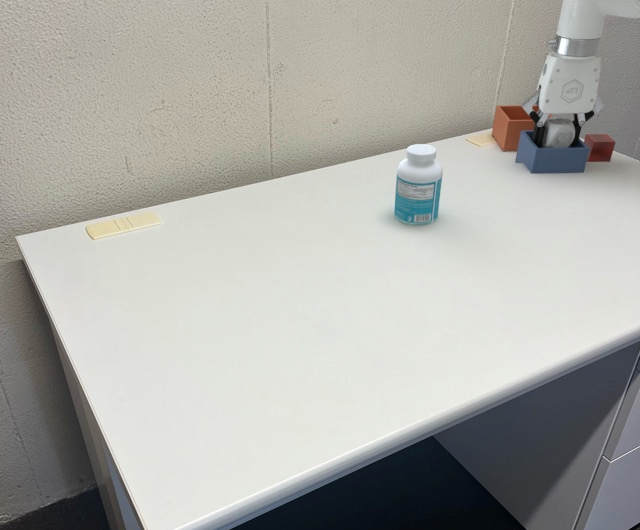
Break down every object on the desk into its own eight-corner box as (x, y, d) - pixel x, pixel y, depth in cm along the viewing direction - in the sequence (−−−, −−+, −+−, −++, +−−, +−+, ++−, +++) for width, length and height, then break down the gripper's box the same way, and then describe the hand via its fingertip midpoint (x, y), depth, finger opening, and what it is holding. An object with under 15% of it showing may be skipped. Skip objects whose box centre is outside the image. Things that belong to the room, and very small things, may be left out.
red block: (601, 154, 130) (607, 133, 127) (609, 162, 126) (615, 141, 123) (580, 154, 130) (585, 134, 127) (588, 163, 126) (593, 142, 123)
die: (535, 143, 121) (540, 118, 118) (557, 140, 122) (563, 115, 119) (548, 152, 117) (554, 126, 114) (571, 149, 118) (578, 124, 115)
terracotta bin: (535, 134, 140) (541, 105, 136) (549, 150, 132) (556, 120, 128) (491, 134, 140) (496, 105, 136) (503, 151, 132) (508, 120, 128)
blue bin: (563, 160, 127) (571, 129, 123) (581, 181, 119) (590, 148, 115) (515, 161, 127) (521, 130, 123) (529, 181, 119) (536, 149, 115)
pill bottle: (412, 210, 109) (419, 136, 101) (445, 224, 105) (455, 149, 97) (384, 224, 105) (388, 148, 97) (417, 239, 101) (425, 161, 93)
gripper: (534, 52, 106) (515, 152, 117) (632, 50, 106) (604, 150, 117) (522, 42, 112) (505, 138, 123) (615, 40, 112) (590, 136, 123)
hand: (554, 143), depth 120 cm, fingers closed on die, 5 cm apart
